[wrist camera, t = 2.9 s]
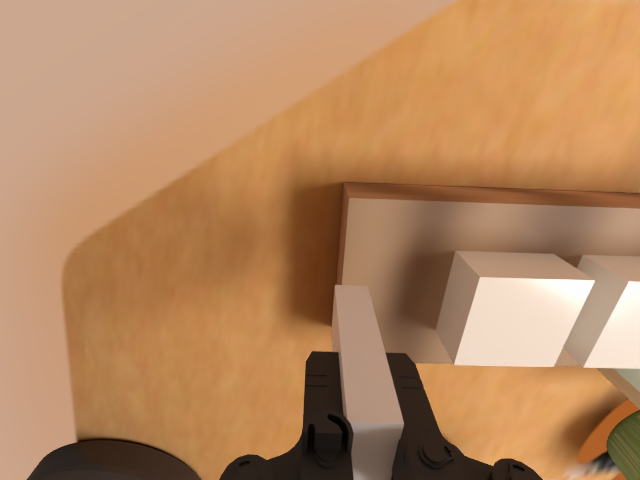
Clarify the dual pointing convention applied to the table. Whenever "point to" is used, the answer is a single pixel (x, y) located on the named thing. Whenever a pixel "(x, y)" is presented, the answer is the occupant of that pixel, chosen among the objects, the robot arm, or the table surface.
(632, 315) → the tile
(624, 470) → the ramekin
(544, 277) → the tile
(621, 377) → the tray
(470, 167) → the table surface
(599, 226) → the walnut board
